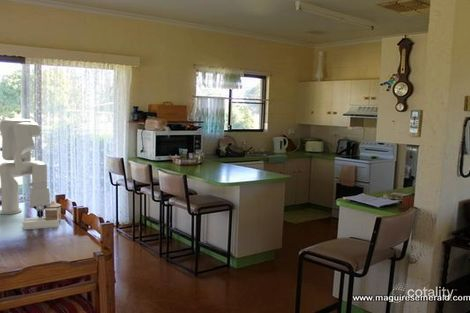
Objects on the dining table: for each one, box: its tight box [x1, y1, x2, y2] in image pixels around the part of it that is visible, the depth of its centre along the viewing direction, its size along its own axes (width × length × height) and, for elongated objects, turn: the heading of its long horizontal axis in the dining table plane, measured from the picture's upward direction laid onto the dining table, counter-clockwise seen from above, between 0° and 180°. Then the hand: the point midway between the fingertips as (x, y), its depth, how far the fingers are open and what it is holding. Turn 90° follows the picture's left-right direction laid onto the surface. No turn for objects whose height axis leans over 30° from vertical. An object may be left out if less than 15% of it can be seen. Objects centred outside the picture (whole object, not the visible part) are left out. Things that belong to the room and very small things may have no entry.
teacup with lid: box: [44, 200, 62, 222], centre depth 250 cm, size 12×9×12 cm
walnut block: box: [44, 208, 57, 220], centre depth 238 cm, size 5×6×8 cm
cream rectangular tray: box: [22, 216, 60, 230], centre depth 236 cm, size 8×18×4 cm, turn 114°
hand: (40, 217), depth 236 cm, fingers closed
